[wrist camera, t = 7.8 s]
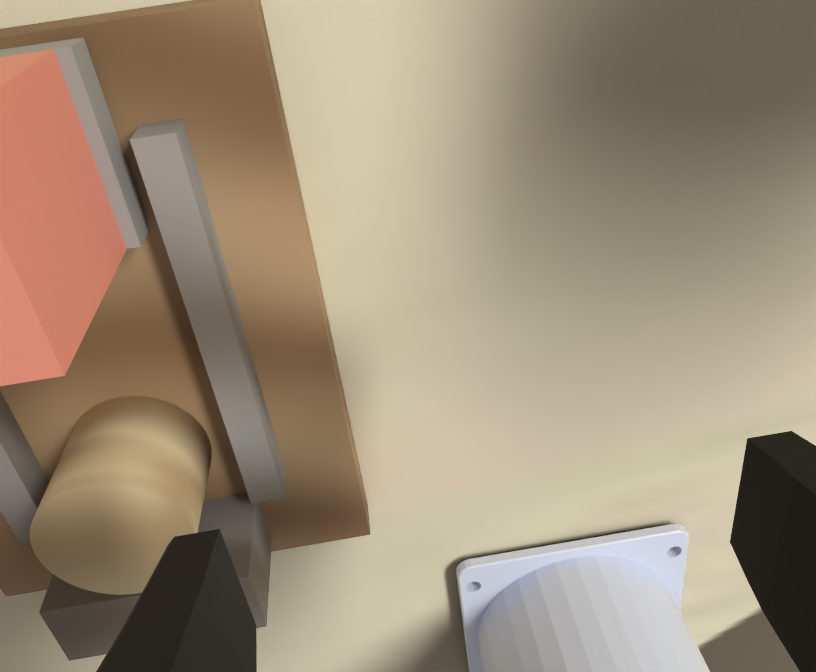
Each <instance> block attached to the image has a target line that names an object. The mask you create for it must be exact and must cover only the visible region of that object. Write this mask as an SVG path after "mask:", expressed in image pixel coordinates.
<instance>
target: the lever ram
mask: <svg viewBox="0 0 816 672" xmlns="http://www.w3.org/2000/svg"><path fill="white" fill-rule="evenodd" d="M148 231H149V227H148V224H147V221H146V218H145V215H144V212H143V209H142V207H141V204H140V201H139V198H138V195H137V192H136V189H135V186H134V183H133V180H132V177H131V174H130V171H129V168H128V166H127V163H126V160H125V157H124V154H123V151H122V148H121V145H120V142H119V139H118V136H117V133H116V130H115V128H114V125H113V122H112V119H111V116H110V113H109V110H108V107H107V104H106V101H105V98H104V95H103V92H102V90H101V87H100V84H99V81H98V78H97V75H96V72H95V69H94V66H93V63H92V60H91V57H90V54H89V51H88V49H87V46H86V43H85V40H84V37H82V38H75V39H68V40H62V41H55V42H48V43H42V44H35V45H28V46H22V47H15V48H8V49H2V50H0V386H5V385H11V384H17V383H24V382H30V381H36V380H42V379H48V378H54V377H61V376H65V374H66V372H67V370H68V368H69V366H70V364H71V362H72V360H73V358H74V356H75V354H76V352H77V350H78V348H79V346H80V344H81V342H82V340H83V338H84V335H85V333H86V331H87V329H88V327H89V325H90V323H91V321H92V319H93V317H94V315H95V313H96V311H97V309H98V307H99V305H100V303H101V301H102V299H103V297H104V295H105V293H106V291H107V289H108V286H109V284H110V282H111V280H112V278H113V276H114V274H115V272H116V270H117V268H118V266H119V264H120V262H121V260H122V258H123V256H124V254H125V252H126V250H127V249H129V248H136V247H141V246H142V244H143V242H144V239H145V237H146V235H147V233H148Z"/></svg>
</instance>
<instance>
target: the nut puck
mask: <svg viewBox="0 0 816 672" xmlns="http://www.w3.org/2000/svg"><path fill="white" fill-rule="evenodd" d="M211 460H212V447H211V443H210V439H209V437H208V435H207V433H206V431H205V430H204V428H203V427H202V425H201V424H200V423H199V422H198V421H197V420H196V419H195V418H194V417H193V416H192V415H190V414H189V413H187V412H186V411H185V410H183V409H181V408H179V407H178V406H176V405H173V404H171V403H169V402H166V401H162V400H159V399H155V398H150V397H141V396H127V397H119V398H114V399H110V400H107V401H104V402H102V403H99V404H97V405H95V406H94V407H92V408H91V409H89V410H88V411H87V412H86V413H84V414H83V415H82V416H81V418H80V419H79V420H78V421H77V423H76V425H75V427H74V429H73V431H72V433H71V436H70V438H69V440H68V442H67V444H66V447H65V449H64V451H63V453H62V456H61V458H60V460H59V462H58V465H57V467H56V469H55V471H54V473H53V476H52V478H51V480H50V482H49V485H48V487H47V489H46V491H45V493H44V496H43V498H42V500H41V502H40V505H39V507H38V509H37V511H36V514H35V516H34V518H33V520H32V523H31V526H30V542H31V546H32V549H33V551H34V553H35V555H36V557H37V558H38V559H39V561H40V562H41V563H42V564H43V565H44V567H45V568H46V569H48V570H49V571H50V572H51V573H52V574H54V575H55V576H57V577H58V578H60V579H61V580H63V581H65V582H67V583H69V584H71V585H74V586H76V587H79V588H82V589H85V590H88V591H93V592H97V593H104V594H115V595H125V594H137V593H142V592H143V590H144V588H145V586H146V585H147V583H148V581H149V579H150V577H151V575H152V574H153V572H154V570H155V568H156V566H157V564H158V562H159V561H160V559H161V557H162V555H163V553H164V551H165V550H166V548H167V546H168V544H169V543H170V542H171V540H172V539H173V538H174V537H175V536H181V535H187V534H193V533H198V528H199V522H200V517H201V512H202V507H203V502H204V496H205V491H206V486H207V481H208V476H209V470H210V465H211Z"/></svg>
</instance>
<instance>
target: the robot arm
mask: <svg viewBox="0 0 816 672" xmlns="http://www.w3.org/2000/svg"><path fill="white" fill-rule="evenodd" d="M730 543H731V545H732V547H733V549H734V552H735V554H736V556H737V558H738V560H739V563H740V565H741V567H742V569H743V571H744V574H745V576H746V578H747V580H748V582H749V584H750V586H751V588H752V590H753V592H754V594H755V596H756V598H757V600H758V602H759V605H760V607H761V609H762V611H763V612H764V614H765V616H766V617H767V619H768V621H769V622H770V624H771V626H772V627H773V629H774V631H775V632H776V634H777V635H778V637H779V639H780V640H781V642H782V643H783V645H784V647H785V648H786V650H787V651H788V653H789V655H790V656H791V658H792V659H793V661H794V663H795V664H796V666H797V667H798V669H799V671H800V672H816V446H815V445H813V444H812V443H810V442H808V441H807V440H805V439H803V438H802V437H800V436H799V435H797V434H795V433H794V432H792V431H789V432H783V433H777V434H771V435H766V436H760V437H754V438H748V439H747V444H746V450H745V456H744V462H743V468H742V474H741V480H740V486H739V492H738V498H737V504H736V510H735V516H734V522H733V528H732V534H731V540H730ZM688 544H689V535H688V533H687V531H686V529H685V528H684V527H683V526H682V525H679V524H669V525H663V526H658V527H652V528H646V529H640V530H634V531H628V532H623V533H617V534H611V535H605V536H599V537H594V538H588V539H582V540H576V541H570V542H565V543H559V544H553V545H547V546H541V547H536V548H530V549H524V550H518V551H512V552H506V553H501V554H495V555H489V556H483V557H477V558H472V559H467V560H464V561H463V562H461V563H460V564H459V565H458V566H457V569H456V575H457V582H458V590H459V598H460V606H461V613H462V621H463V629H464V637H465V644H466V652H467V660H468V668H469V672H710V671H709V669H708V667H707V665H706V663H705V661H704V659H703V657H702V655H701V653H700V651H699V649H698V647H697V645H696V643H695V641H694V639H693V637H692V635H691V633H690V631H689V629H688V627H687V625H686V623H685V621H684V619H683V617H682V615H681V613H680V606H681V598H682V591H683V583H684V575H685V567H686V559H687V552H688ZM96 672H256V623H255V621H254V618H253V615H252V613H251V610H250V607H249V605H248V602H247V599H246V597H245V594H244V592H243V589H242V586H241V584H240V581H239V578H238V576H237V573H236V570H235V568H234V565H233V563H232V560H231V557H230V555H229V552H228V549H227V547H226V544H225V542H224V539H223V536H222V534H221V531H220V529H216V530H210V531H205V532H199V533H193V534H187V535H181V536H175V537H174V538H173V539H172V540H171V542H170V543H169V544H168V546H167V548H166V550H165V551H164V553H163V555H162V557H161V559H160V561H159V562H158V564H157V566H156V568H155V570H154V572H153V574H152V575H151V577H150V579H149V581H148V583H147V585H146V586H145V588H144V590H143V592H142V594H141V595H140V597H139V599H138V601H137V603H136V604H135V606H134V608H133V610H132V612H131V613H130V615H129V617H128V619H127V620H126V622H125V624H124V626H123V627H122V629H121V631H120V633H119V634H118V636H117V638H116V640H115V641H114V643H113V645H112V646H111V648H110V650H109V651H108V653H107V655H106V656H105V658H104V660H103V661H102V663H101V665H100V666H99V668H98V670H97V671H96Z"/></svg>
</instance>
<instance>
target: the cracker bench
mask: <svg viewBox="0 0 816 672" xmlns="http://www.w3.org/2000/svg"><path fill="white" fill-rule="evenodd" d="M82 37H84V40H85V43H86V46H87V49H88V51H89V54H90V57H91V60H92V63H93V66H94V69H95V72H96V75H97V78H98V81H99V84H100V87H101V90H102V92H103V95H104V98H105V101H106V104H107V107H108V110H109V113H110V116H111V119H112V122H113V125H114V128H115V130H116V133H117V136H118V139H119V142H120V145H121V148H122V151H123V154H124V157H125V160H126V163H127V166H128V168H129V171H130V174H131V177H132V180H133V183H134V186H135V189H136V192H137V195H138V198H139V201H140V204H141V207H142V209H143V212H144V215H145V218H146V221H147V224H148V227H149V231H148V233H147V235H146V237H145V239H144V242H143V244H142V246H141V247H136V248H129V249H127V250H126V252H125V254H124V256H123V258H122V260H121V262H120V264H119V266H118V268H117V270H116V272H115V274H114V276H113V278H112V280H111V282H110V284H109V286H108V289H107V291H106V293H105V295H104V297H103V299H102V301H101V303H100V305H99V307H98V309H97V311H96V313H95V315H94V317H93V319H92V321H91V323H90V325H89V327H88V329H87V331H86V333H85V335H84V338H83V340H82V342H81V344H80V346H79V348H78V350H77V352H76V354H75V356H74V358H73V360H72V362H71V364H70V366H69V368H68V370H67V372H66V374H65V376H61V377H54V378H48V379H42V380H36V381H30V382H24V383H17V384H11V385H5V386H0V588H1V589H2V591H3V592H4V594H5V595H6V596H12V595H18V594H24V593H30V592H36V591H41V590H47V589H48V590H47V593H46V596H45V598H44V601H43V604H42V606H41V609H40V612H39V613H40V614H41V616H42V618H43V619H44V621H45V622H46V624H47V626H48V627H49V629H50V630H51V632H52V634H53V635H54V637H55V638H56V640H57V642H58V643H59V645H60V646H61V648H62V650H63V651H64V653H65V654H66V656H67V658H68V659H69V660H75V659H80V658H86V657H92V656H98V655H103V654H107V653H108V651H109V650H110V648H111V646H112V645H113V643H114V641H115V640H116V638H117V636H118V634H119V633H120V631H121V629H122V627H123V626H124V624H125V622H126V620H127V619H128V617H129V615H130V613H131V612H132V610H133V608H134V606H135V604H136V603H137V601H138V599H139V597H140V595H141V594H142V593H137V594H125V595H115V594H104V593H97V592H93V591H88V590H85V589H82V588H79V587H76V586H74V585H71V584H69V583H67V582H65V581H63V580H61V579H60V578H58V577H57V576H55V575H54V574H52V573H51V572H50V571H49V570H48V569H46V568H45V567H44V565H43V564H42V563H41V562H40V561H39V559H38V558H37V557H36V555H35V553H34V551H33V549H32V546H31V542H30V526H31V523H32V520H33V518H34V516H35V514H36V511H37V509H38V507H39V505H40V502H41V500H42V498H43V496H44V493H45V491H46V489H47V487H48V485H49V482H50V480H51V478H52V476H53V473H54V471H55V469H56V467H57V465H58V462H59V460H60V458H61V456H62V453H63V451H64V449H65V447H66V444H67V442H68V440H69V438H70V436H71V433H72V431H73V429H74V427H75V425H76V423H77V421H78V420H79V419H80V418H81V416H82V415H83V414H84V413H86V412H87V411H88V410H89V409H91V408H92V407H94V406H95V405H97V404H99V403H102V402H104V401H107V400H110V399H114V398H119V397H127V396H141V397H150V398H155V399H159V400H162V401H166V402H169V403H171V404H173V405H176V406H178V407H179V408H181V409H183V410H185V411H186V412H187V413H189V414H190V415H192V416H193V417H194V418H195V419H196V420H197V421H198V422H199V423H200V424H201V425H202V427H203V428H204V430H205V431H206V433H207V435H208V437H209V439H210V443H211V447H212V460H211V465H210V470H209V476H208V481H207V486H206V491H205V496H204V502H203V507H202V512H201V517H200V522H199V528H198V533H199V532H205V531H210V530H216V529H220V531H221V534H222V536H223V539H224V542H225V544H226V547H227V549H228V552H229V555H230V557H231V560H232V563H233V565H234V568H235V570H236V573H237V576H238V578H239V581H240V584H241V586H242V589H243V592H244V594H245V597H246V599H247V602H248V605H249V607H250V610H251V613H252V615H253V618H254V621H255V623H256V628H259V627H265V626H266V624H267V607H268V591H269V574H270V557H271V551H276V550H282V549H288V548H294V547H300V546H305V545H311V544H317V543H323V542H329V541H335V540H341V539H346V538H352V537H358V536H364V535H370V527H369V515H368V505H367V500H366V496H365V491H364V486H363V481H362V477H361V472H360V467H359V463H358V458H357V453H356V449H355V444H354V439H353V434H352V430H351V425H350V420H349V416H348V411H347V406H346V401H345V397H344V392H343V387H342V383H341V378H340V373H339V369H338V364H337V359H336V354H335V350H334V345H333V340H332V336H331V331H330V326H329V321H328V317H327V312H326V307H325V303H324V298H323V293H322V288H321V284H320V279H319V274H318V270H317V265H316V260H315V256H314V251H313V246H312V241H311V237H310V232H309V227H308V223H307V218H306V213H305V208H304V204H303V199H302V194H301V190H300V185H299V180H298V176H297V171H296V166H295V161H294V157H293V152H292V147H291V143H290V138H289V133H288V128H287V124H286V119H285V114H284V110H283V105H282V100H281V96H280V91H279V86H278V81H277V77H276V72H275V67H274V63H273V58H272V53H271V48H270V44H269V39H268V34H267V30H266V25H265V20H264V15H263V11H262V6H261V1H260V0H193V1H186V2H179V3H173V4H166V5H159V6H153V7H146V8H139V9H132V10H126V11H119V12H112V13H106V14H99V15H92V16H85V17H79V18H72V19H65V20H59V21H52V22H45V23H38V24H32V25H25V26H18V27H12V28H5V29H0V50H2V49H8V48H15V47H22V46H28V45H35V44H42V43H48V42H55V41H62V40H68V39H75V38H82Z"/></svg>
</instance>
